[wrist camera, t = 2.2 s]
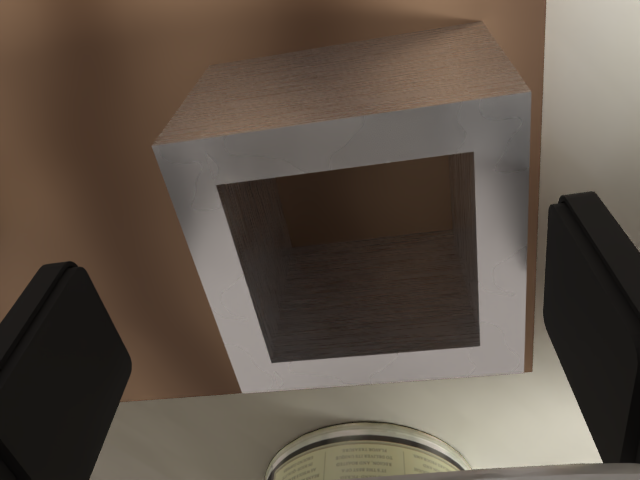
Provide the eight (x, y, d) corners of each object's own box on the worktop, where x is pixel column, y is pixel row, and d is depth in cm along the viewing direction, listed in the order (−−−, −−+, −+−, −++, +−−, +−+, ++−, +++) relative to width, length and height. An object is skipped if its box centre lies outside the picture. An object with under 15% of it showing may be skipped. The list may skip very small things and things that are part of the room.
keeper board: (536, -277, 12) (556, -292, 11) (522, 342, 22) (532, 371, 21) (-376, -62, 16) (-440, -55, 14) (-38, 387, 25) (-59, 415, 24)
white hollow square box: (481, 21, 14) (531, 91, 10) (486, 252, 18) (524, 372, 14) (209, 65, 15) (151, 145, 11) (268, 274, 19) (242, 393, 15)
